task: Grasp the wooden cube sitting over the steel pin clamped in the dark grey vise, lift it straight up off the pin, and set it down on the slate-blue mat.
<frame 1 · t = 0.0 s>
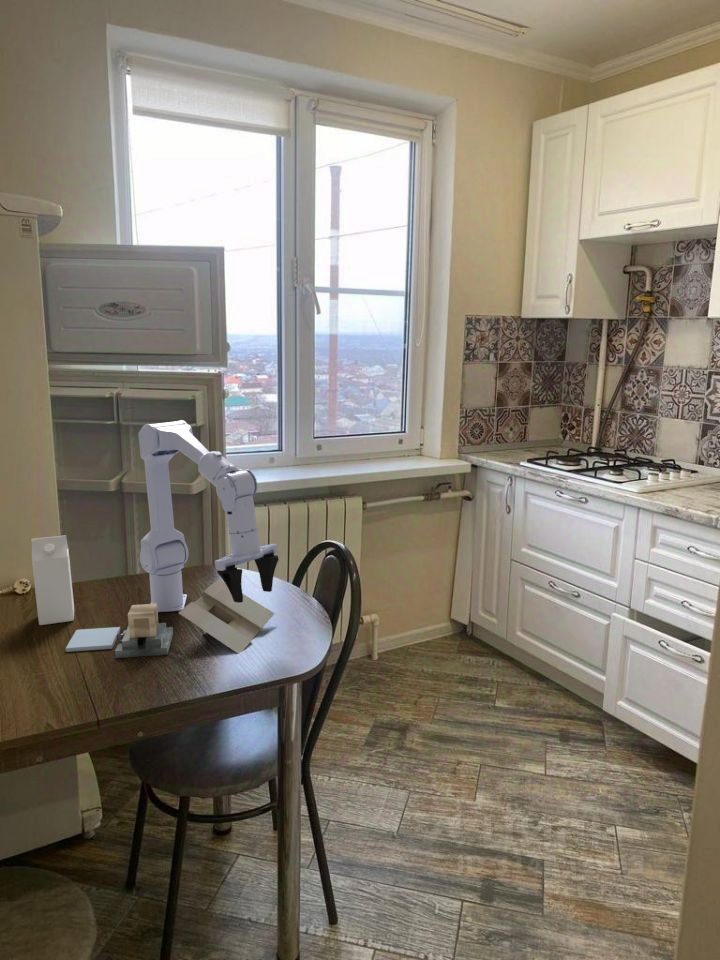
hand: (253, 596, 142), 11 cm above the table, tool pointing down, fingers open, 7 cm apart
mat: (94, 640, 147), on the table
vise: (145, 645, 145), on the table
milk carton: (57, 618, 159), on the table
wooden cube: (144, 631, 144), point 3 cm above the table, touching vise
beige slotted board: (230, 635, 150), on the table
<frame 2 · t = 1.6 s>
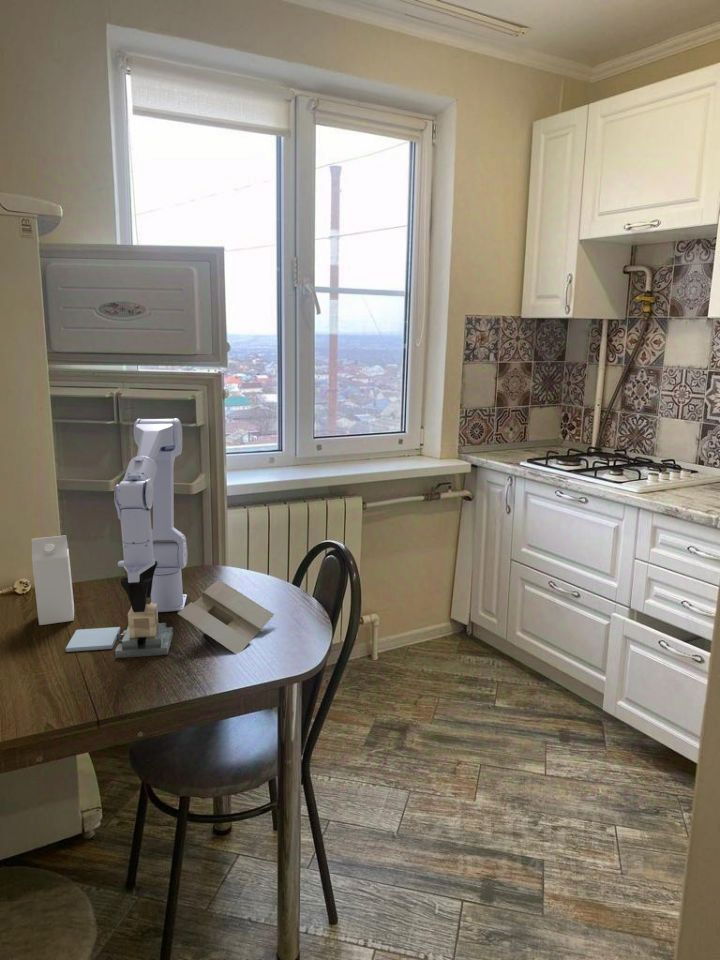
hand: (142, 604, 143), 9 cm above the table, tool pointing down, fingers open, 7 cm apart
nothing on the table moved.
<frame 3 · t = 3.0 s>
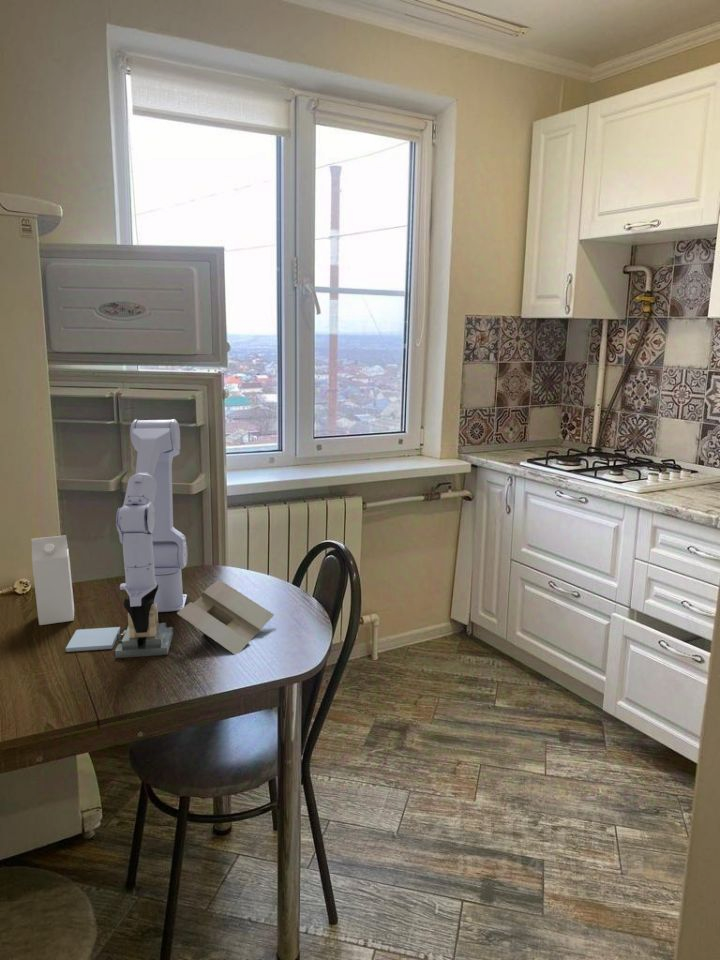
hand: (144, 626, 144), 4 cm above the table, tool pointing down, fingers closed on wooden cube, 5 cm apart
wooden cube: (144, 631, 144), point 3 cm above the table, touching gripper, vise
everything else where it was.
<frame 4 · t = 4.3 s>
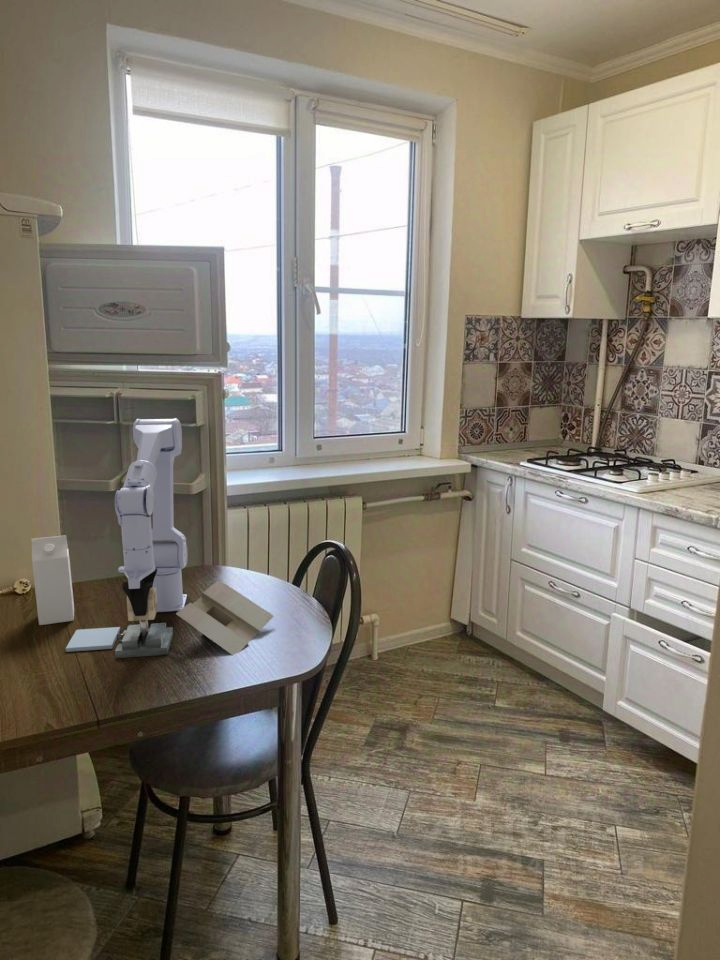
hand: (142, 609, 143), 8 cm above the table, tool pointing down, fingers closed on wooden cube, 5 cm apart
wooden cube: (143, 615, 143), point 7 cm above the table, touching gripper
everything else where it was.
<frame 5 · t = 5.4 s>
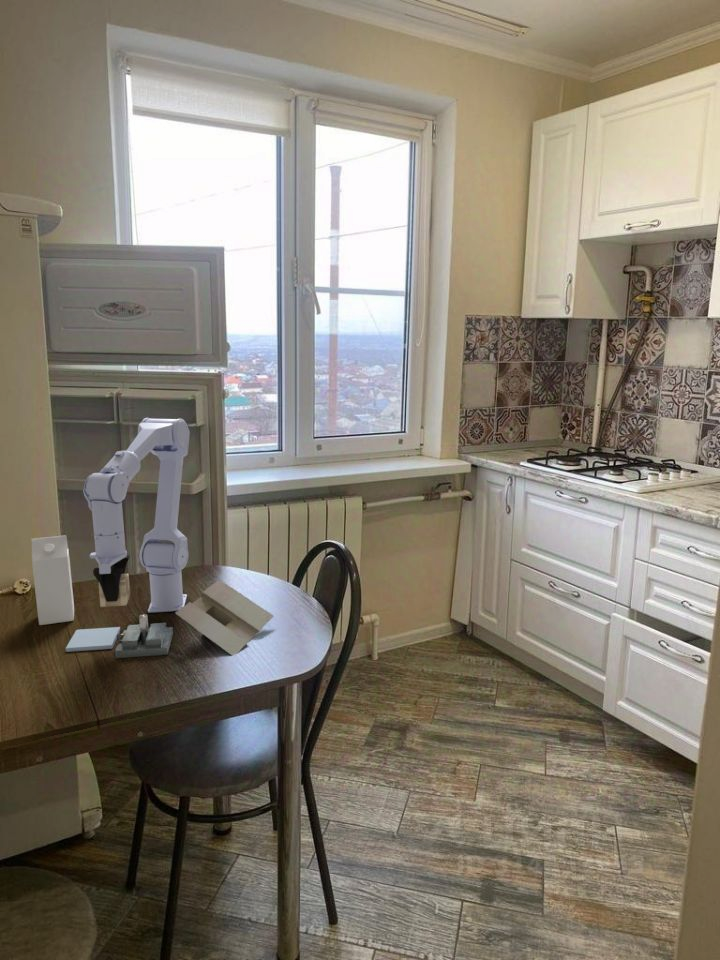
hand: (114, 595, 144), 10 cm above the table, tool pointing down, fingers closed on wooden cube, 5 cm apart
wooden cube: (115, 601, 144), point 9 cm above the table, touching gripper
everything else where it was.
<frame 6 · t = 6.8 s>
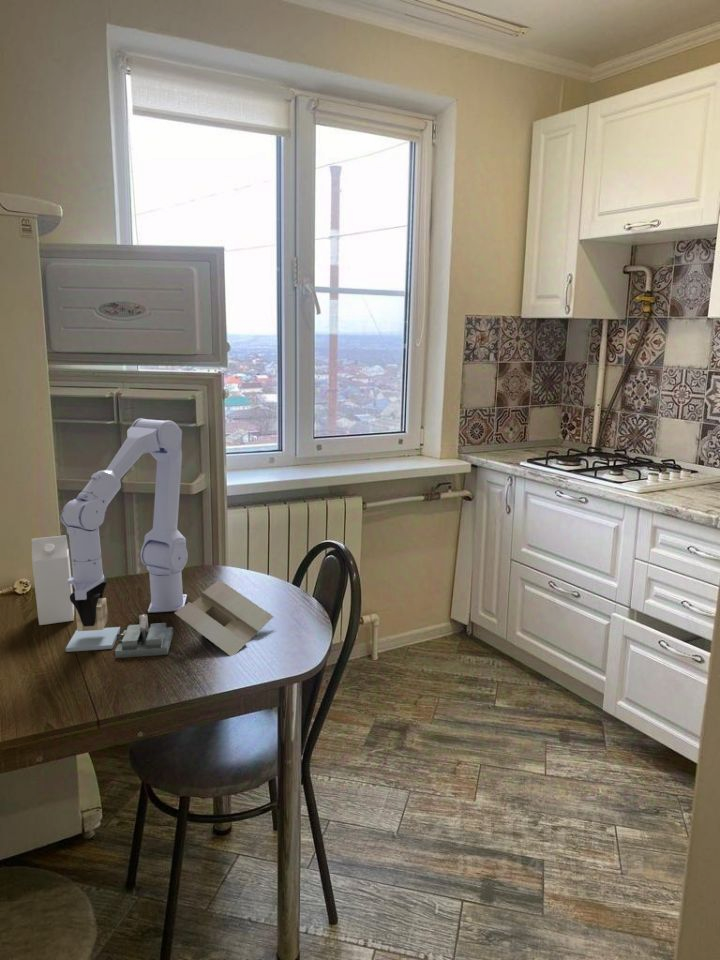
hand: (92, 620, 146), 5 cm above the table, tool pointing down, fingers closed on wooden cube, 5 cm apart
wooden cube: (93, 625, 146), point 3 cm above the table, touching gripper
everything else where it was.
when the fingers open (3 cm above the table, at t = 8.0 s): wooden cube drops 1 cm, resting on mat.
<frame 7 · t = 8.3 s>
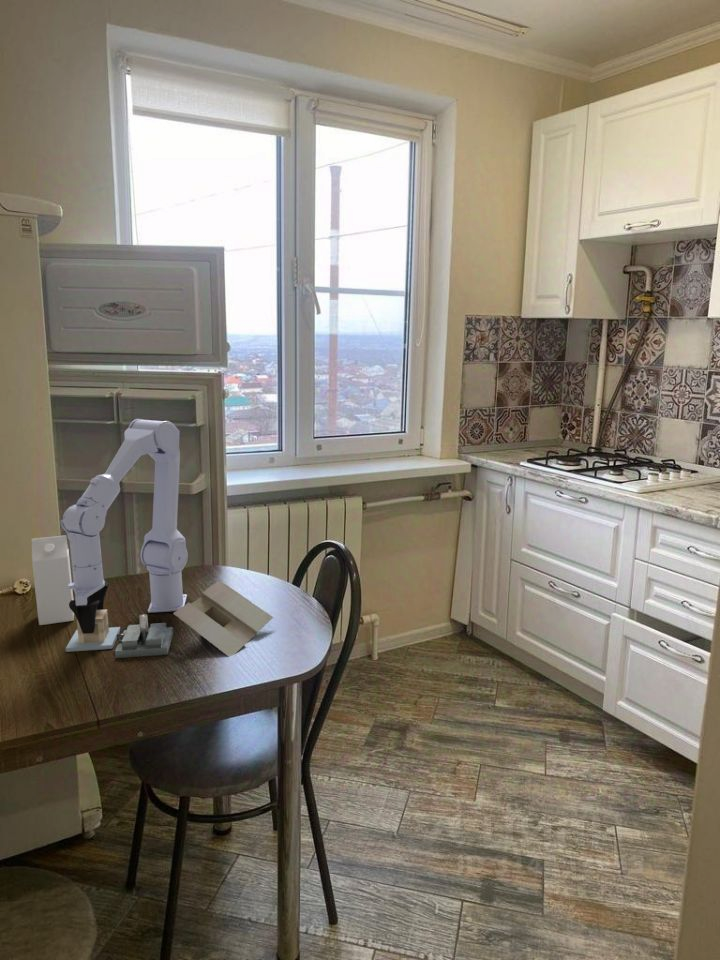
hand: (92, 625, 146), 4 cm above the table, tool pointing down, fingers open, 7 cm apart
wooden cube: (94, 637, 147), point 1 cm above the table, touching mat
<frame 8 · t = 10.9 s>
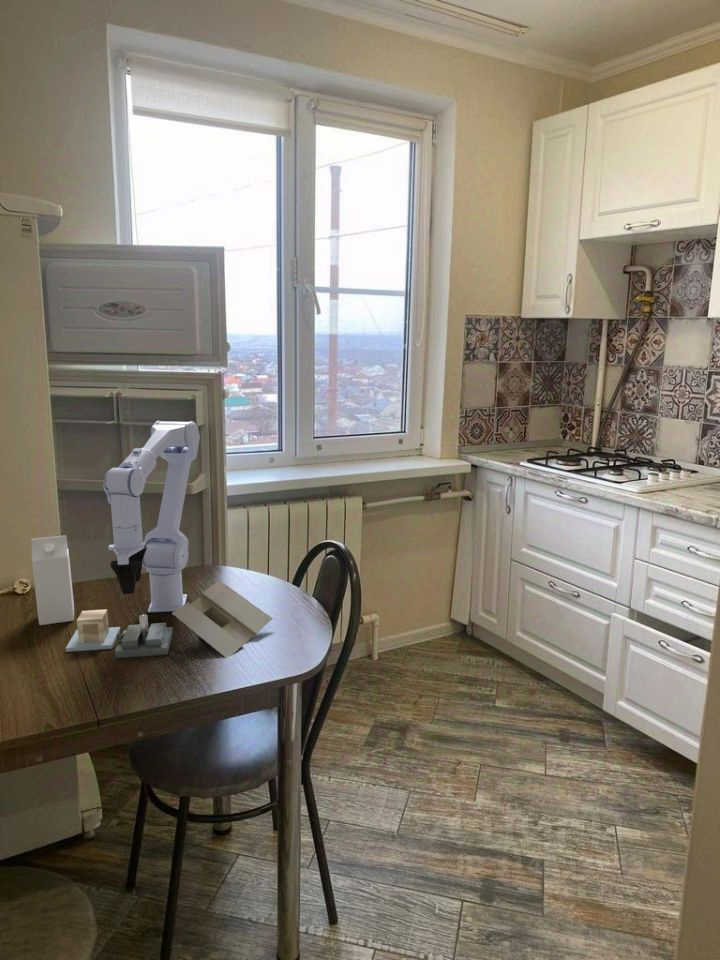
hand: (131, 586, 148), 10 cm above the table, tool pointing down, fingers open, 7 cm apart
at the end: wooden cube inside the target area on the mat (0.1 cm from its centre), point 0.8 cm above the mat's base; wooden cube tilted 0°; the gripper is holding nothing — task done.
